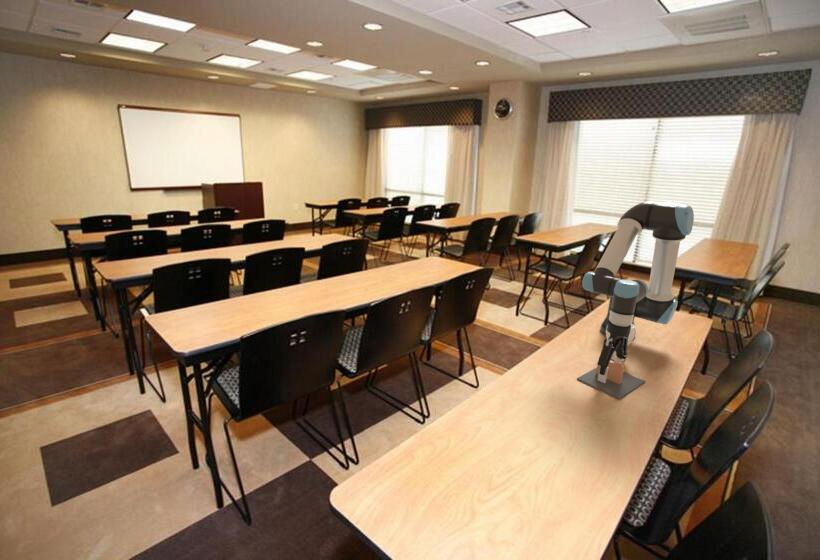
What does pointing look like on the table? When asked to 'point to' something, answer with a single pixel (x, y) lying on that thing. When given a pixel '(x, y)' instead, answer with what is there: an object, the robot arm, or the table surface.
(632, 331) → the cup
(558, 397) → the table surface
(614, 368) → the slab
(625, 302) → the robot arm
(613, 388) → the mat
